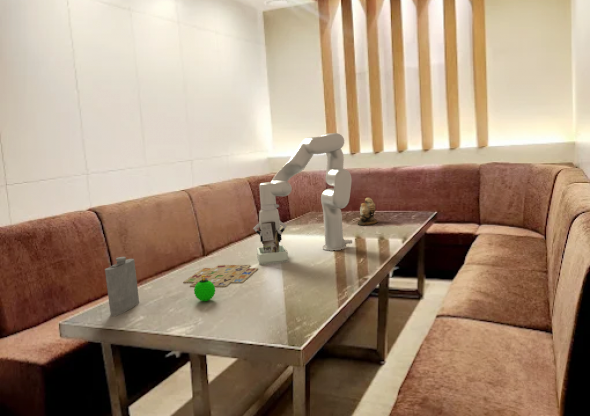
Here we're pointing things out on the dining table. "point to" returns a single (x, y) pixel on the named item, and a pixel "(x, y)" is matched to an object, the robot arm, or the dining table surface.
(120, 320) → the dining table surface
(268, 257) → the bin
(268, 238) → the coffee box
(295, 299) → the dining table surface
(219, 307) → the dining table surface
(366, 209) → the owl figurine
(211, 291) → the ornament
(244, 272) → the alphabet tiles
